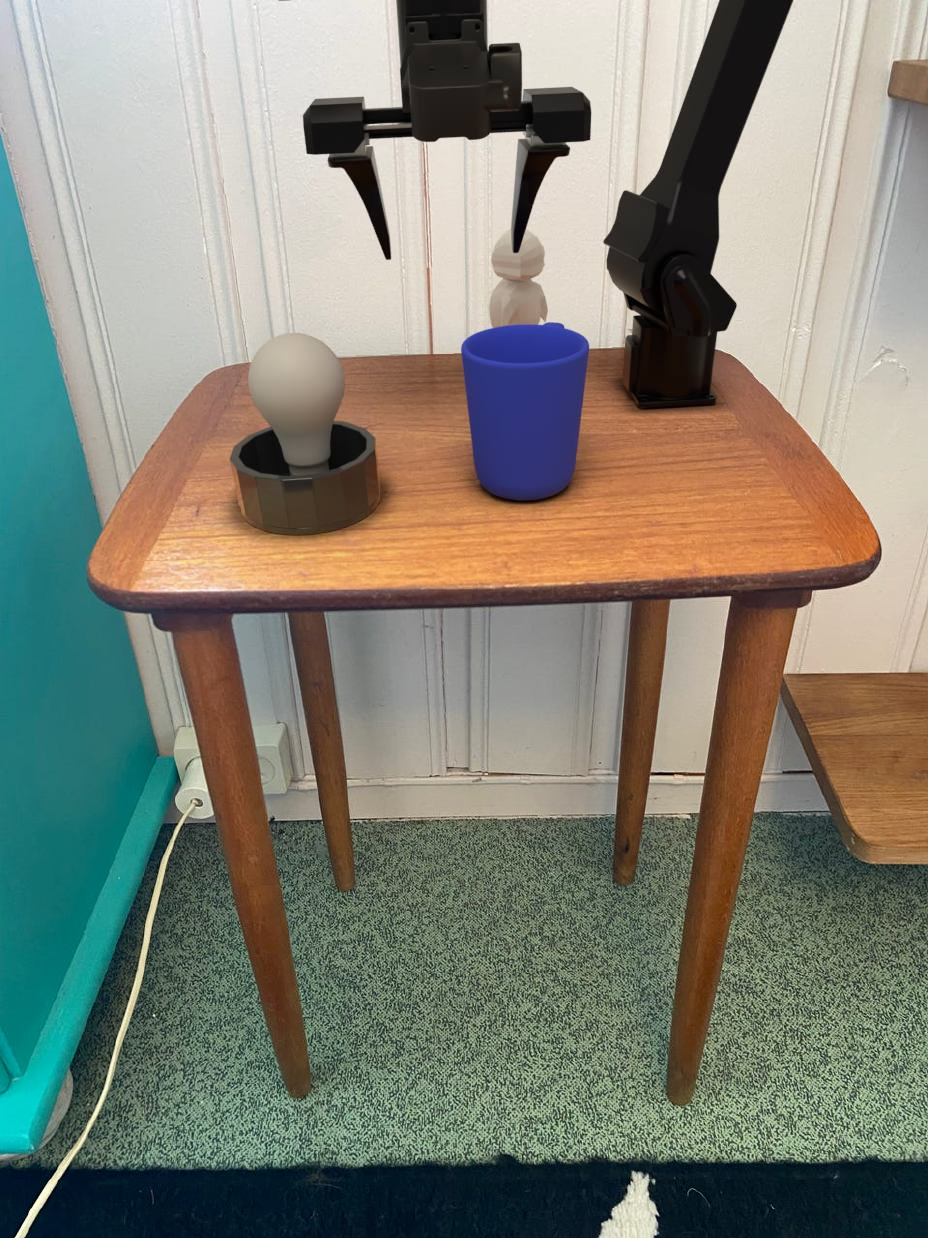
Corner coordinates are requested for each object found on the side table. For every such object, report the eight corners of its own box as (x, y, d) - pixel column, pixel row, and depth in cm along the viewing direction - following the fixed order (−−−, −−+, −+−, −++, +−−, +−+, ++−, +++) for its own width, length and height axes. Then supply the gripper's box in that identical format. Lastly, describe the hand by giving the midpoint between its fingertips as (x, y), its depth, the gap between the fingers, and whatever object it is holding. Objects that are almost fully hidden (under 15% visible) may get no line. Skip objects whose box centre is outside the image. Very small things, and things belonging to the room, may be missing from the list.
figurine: (514, 383, 80) (513, 240, 74) (470, 375, 83) (466, 234, 76) (559, 357, 86) (562, 220, 79) (517, 349, 88) (516, 216, 81)
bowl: (381, 467, 67) (376, 415, 65) (379, 530, 59) (373, 474, 57) (250, 475, 67) (241, 423, 65) (231, 539, 59) (220, 483, 57)
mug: (605, 445, 69) (613, 311, 63) (567, 518, 60) (572, 369, 54) (502, 434, 71) (500, 304, 66) (450, 503, 62) (442, 358, 56)
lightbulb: (319, 467, 67) (298, 314, 60) (375, 491, 63) (359, 331, 57) (250, 496, 63) (220, 338, 57) (305, 523, 59) (280, 357, 53)
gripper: (278, 1, 50) (315, 292, 59) (614, -13, 51) (600, 276, 60) (296, 0, 59) (325, 252, 68) (580, -12, 60) (573, 239, 69)
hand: (452, 255), depth 66 cm, fingers open, 9 cm apart
